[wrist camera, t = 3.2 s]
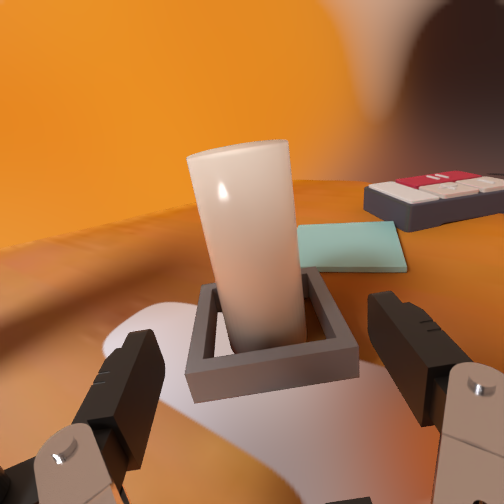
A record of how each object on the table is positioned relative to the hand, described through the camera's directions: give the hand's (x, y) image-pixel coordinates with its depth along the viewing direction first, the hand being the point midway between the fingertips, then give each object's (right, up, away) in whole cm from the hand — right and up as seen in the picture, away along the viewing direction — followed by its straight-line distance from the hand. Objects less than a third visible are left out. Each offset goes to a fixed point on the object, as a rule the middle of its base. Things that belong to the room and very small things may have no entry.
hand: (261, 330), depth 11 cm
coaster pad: (+10, +4, +24) cm, 27 cm away
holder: (+1, -4, +12) cm, 13 cm away
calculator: (+25, +8, +31) cm, 40 cm away
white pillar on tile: (+1, -3, +13) cm, 14 cm away
